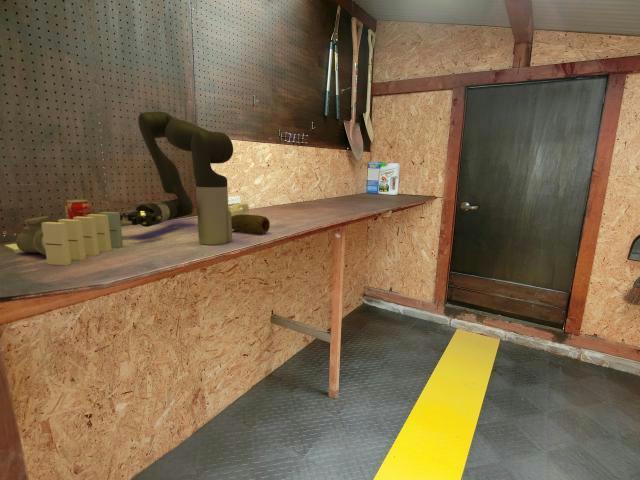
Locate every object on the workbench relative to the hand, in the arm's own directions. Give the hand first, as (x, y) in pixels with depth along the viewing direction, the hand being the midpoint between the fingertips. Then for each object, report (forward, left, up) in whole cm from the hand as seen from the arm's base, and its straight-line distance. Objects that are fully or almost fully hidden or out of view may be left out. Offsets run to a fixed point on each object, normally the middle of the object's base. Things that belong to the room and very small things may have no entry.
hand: (119, 221), depth 106 cm
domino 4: (+6, +5, -7) cm, 11 cm away
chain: (-45, -22, -7) cm, 51 cm away
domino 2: (+13, +11, -7) cm, 18 cm away
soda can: (+8, -17, -7) cm, 20 cm away
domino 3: (+10, +8, -7) cm, 14 cm away
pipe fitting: (+19, 0, -7) cm, 20 cm away
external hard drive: (+20, -11, -8) cm, 24 cm away
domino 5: (+3, +2, -7) cm, 8 cm away
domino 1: (+17, +14, -7) cm, 23 cm away
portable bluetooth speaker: (-40, +6, -7) cm, 41 cm away
